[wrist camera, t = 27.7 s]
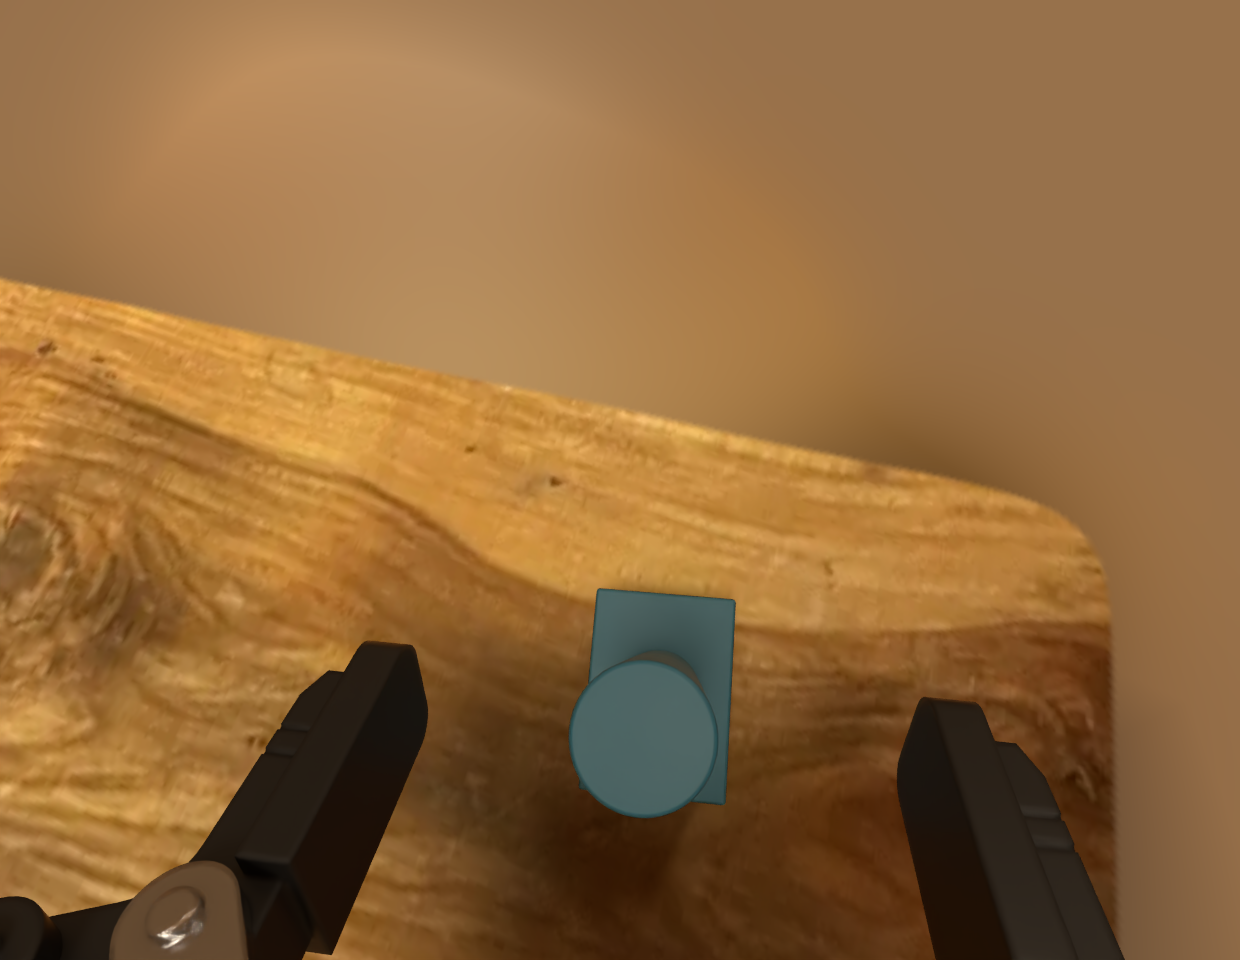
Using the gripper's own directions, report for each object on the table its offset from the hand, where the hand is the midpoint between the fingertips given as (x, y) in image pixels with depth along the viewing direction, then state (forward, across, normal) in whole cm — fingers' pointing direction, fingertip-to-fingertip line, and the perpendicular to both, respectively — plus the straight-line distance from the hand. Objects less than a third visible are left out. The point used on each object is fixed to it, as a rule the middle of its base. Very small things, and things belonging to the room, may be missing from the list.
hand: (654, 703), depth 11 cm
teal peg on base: (+8, 0, +8) cm, 11 cm away
